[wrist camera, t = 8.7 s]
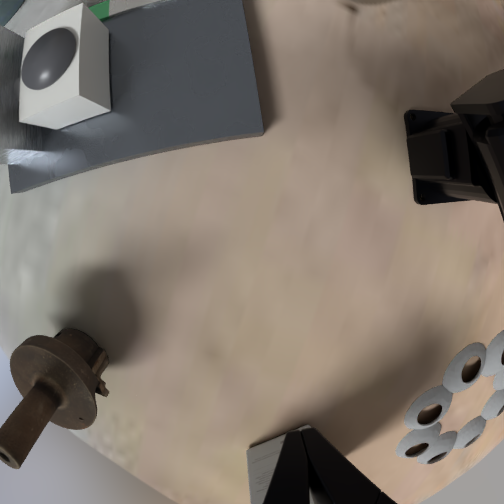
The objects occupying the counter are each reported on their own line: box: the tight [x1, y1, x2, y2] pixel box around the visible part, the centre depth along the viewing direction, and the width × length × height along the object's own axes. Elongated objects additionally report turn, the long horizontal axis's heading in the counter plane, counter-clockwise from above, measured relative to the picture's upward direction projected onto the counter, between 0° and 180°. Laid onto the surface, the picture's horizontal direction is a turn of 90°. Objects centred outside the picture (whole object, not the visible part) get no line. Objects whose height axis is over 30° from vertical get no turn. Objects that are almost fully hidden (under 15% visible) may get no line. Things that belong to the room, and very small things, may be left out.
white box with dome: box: [14, 3, 111, 130], centre depth 12 cm, size 6×8×4 cm, turn 8°
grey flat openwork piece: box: [396, 330, 504, 464], centre depth 23 cm, size 20×20×2 cm
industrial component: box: [0, 329, 109, 469], centre depth 14 cm, size 9×7×12 cm
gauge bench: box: [0, 0, 264, 194], centre depth 12 cm, size 18×12×8 cm
